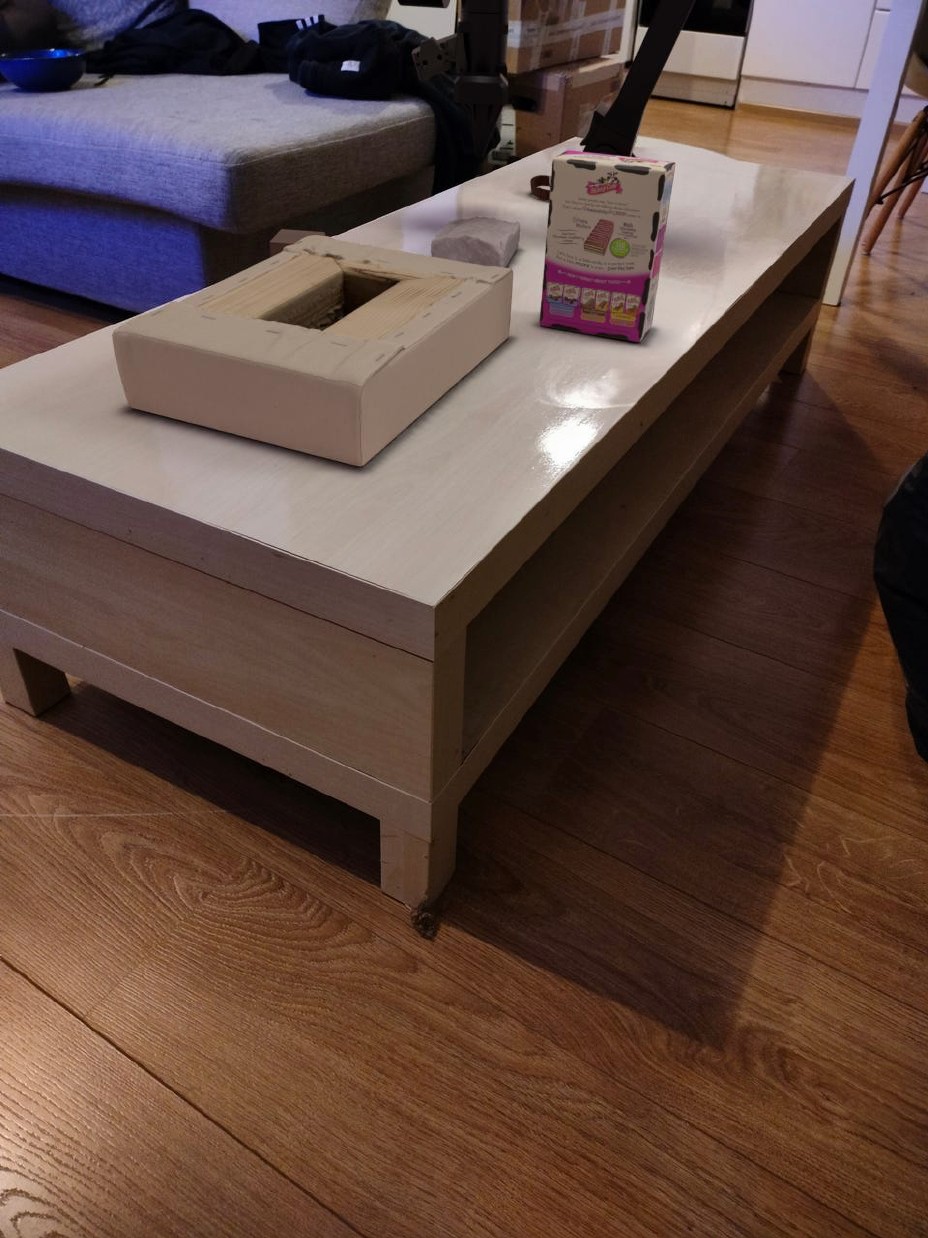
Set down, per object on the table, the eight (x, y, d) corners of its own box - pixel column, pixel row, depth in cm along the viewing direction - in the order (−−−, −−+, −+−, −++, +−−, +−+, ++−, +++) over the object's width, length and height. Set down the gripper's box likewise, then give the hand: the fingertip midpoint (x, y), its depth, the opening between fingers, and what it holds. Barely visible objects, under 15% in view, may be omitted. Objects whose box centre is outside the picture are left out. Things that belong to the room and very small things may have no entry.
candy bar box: (652, 328, 102) (679, 160, 92) (641, 344, 98) (667, 171, 88) (551, 310, 105) (566, 146, 95) (536, 325, 101) (551, 156, 92)
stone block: (428, 282, 116) (509, 273, 114) (421, 241, 114) (504, 231, 111) (449, 257, 126) (525, 248, 123) (443, 218, 123) (520, 208, 120)
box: (313, 299, 106) (121, 409, 82) (310, 225, 101) (105, 320, 77) (511, 340, 99) (365, 474, 75) (517, 264, 95) (364, 380, 71)
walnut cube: (284, 273, 112) (281, 228, 109) (327, 276, 111) (325, 231, 108) (272, 287, 108) (269, 241, 105) (316, 291, 107) (314, 244, 104)
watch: (582, 200, 143) (585, 174, 140) (563, 206, 140) (565, 179, 137) (541, 190, 146) (543, 164, 144) (521, 195, 144) (523, 169, 141)
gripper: (421, 0, 121) (420, 137, 131) (410, 16, 106) (410, 169, 116) (510, 4, 121) (503, 140, 131) (511, 20, 106) (503, 173, 116)
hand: (479, 155), depth 123 cm, fingers closed
